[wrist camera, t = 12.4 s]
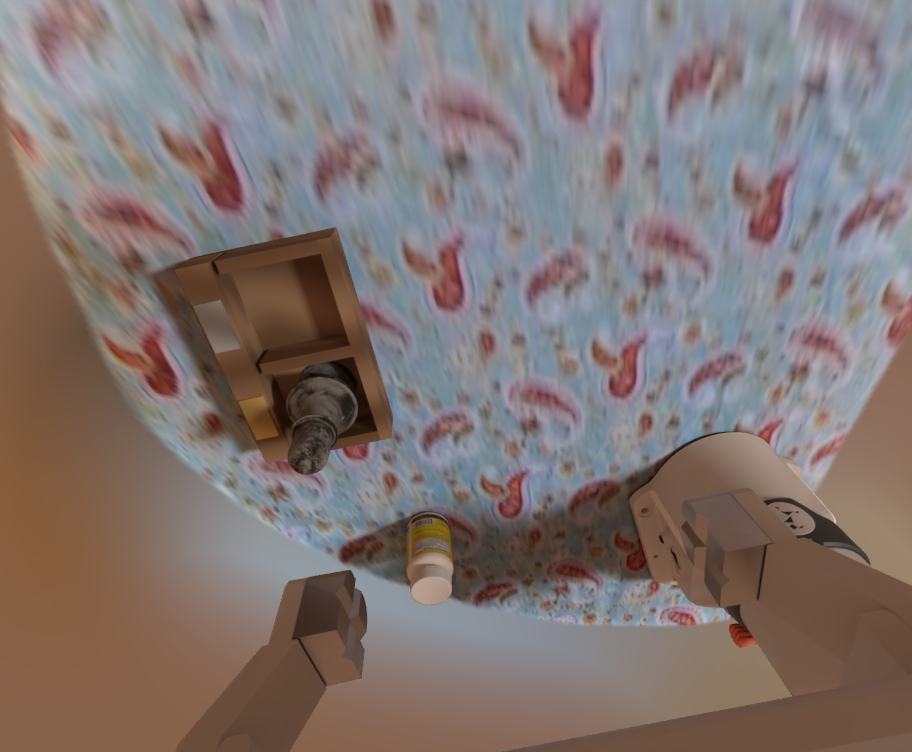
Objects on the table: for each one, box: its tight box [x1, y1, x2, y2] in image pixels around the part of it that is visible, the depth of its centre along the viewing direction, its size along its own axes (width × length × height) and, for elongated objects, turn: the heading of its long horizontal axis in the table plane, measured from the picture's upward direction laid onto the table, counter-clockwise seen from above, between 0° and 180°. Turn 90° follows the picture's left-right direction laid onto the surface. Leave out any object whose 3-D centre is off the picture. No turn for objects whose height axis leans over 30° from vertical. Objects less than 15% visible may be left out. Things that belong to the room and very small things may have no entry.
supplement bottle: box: [407, 512, 454, 605], centre depth 50 cm, size 5×5×8 cm
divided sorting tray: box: [174, 227, 393, 463], centre depth 40 cm, size 18×12×4 cm, turn 11°
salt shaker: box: [286, 361, 358, 475], centre depth 38 cm, size 6×6×12 cm
